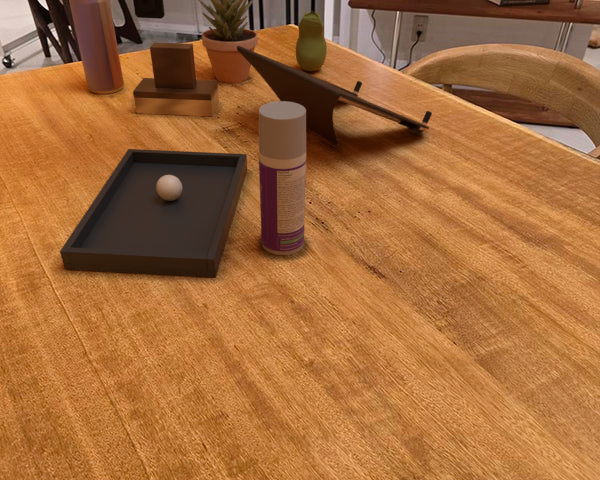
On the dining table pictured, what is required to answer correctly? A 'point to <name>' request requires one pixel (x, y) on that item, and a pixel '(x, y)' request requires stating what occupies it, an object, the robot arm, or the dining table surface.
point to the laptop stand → (319, 96)
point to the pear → (311, 42)
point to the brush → (175, 84)
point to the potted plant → (228, 40)
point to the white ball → (169, 187)
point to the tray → (160, 216)
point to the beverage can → (97, 45)
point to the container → (282, 176)
